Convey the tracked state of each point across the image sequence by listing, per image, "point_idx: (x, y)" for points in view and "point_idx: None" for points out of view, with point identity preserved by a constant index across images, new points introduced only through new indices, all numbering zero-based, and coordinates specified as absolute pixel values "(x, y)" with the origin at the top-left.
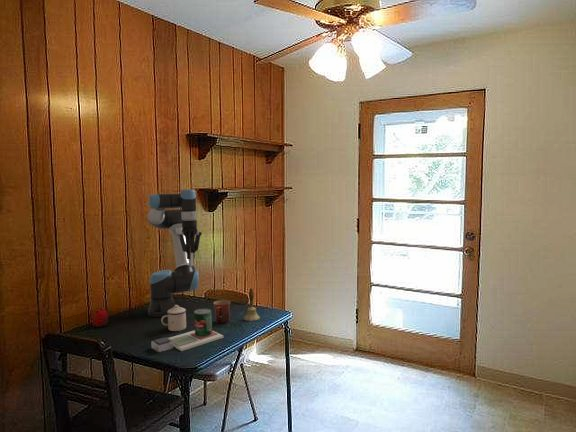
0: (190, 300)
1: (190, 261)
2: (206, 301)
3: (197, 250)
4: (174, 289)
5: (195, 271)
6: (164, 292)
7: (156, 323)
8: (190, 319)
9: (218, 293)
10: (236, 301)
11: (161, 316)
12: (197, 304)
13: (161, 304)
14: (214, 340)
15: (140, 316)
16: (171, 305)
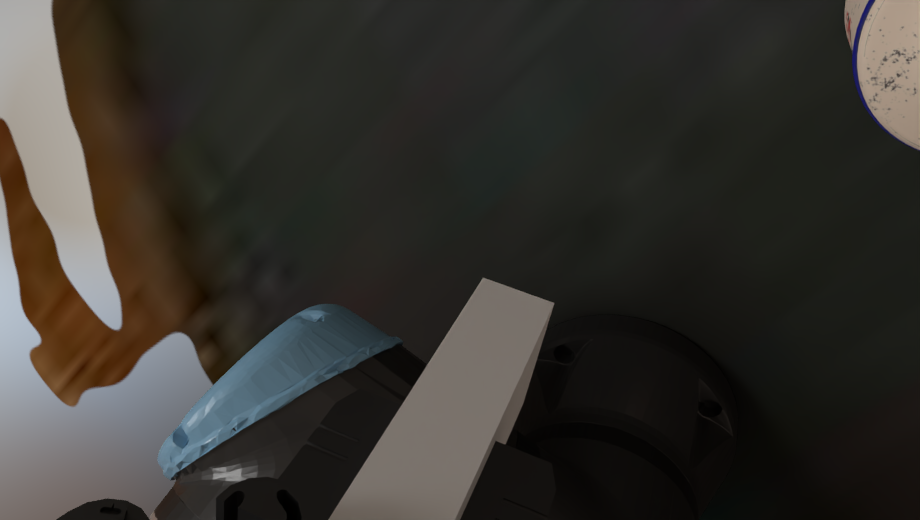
0: None
1: (518, 388)
2: (246, 279)
3: (107, 500)
4: (533, 446)
5: (218, 437)
6: (630, 492)
7: (881, 286)
8: (651, 81)
9: (89, 316)
10: (97, 61)
11: (709, 357)
12: (331, 295)
13: (680, 428)
14: None
15: (769, 500)
16: (596, 368)
